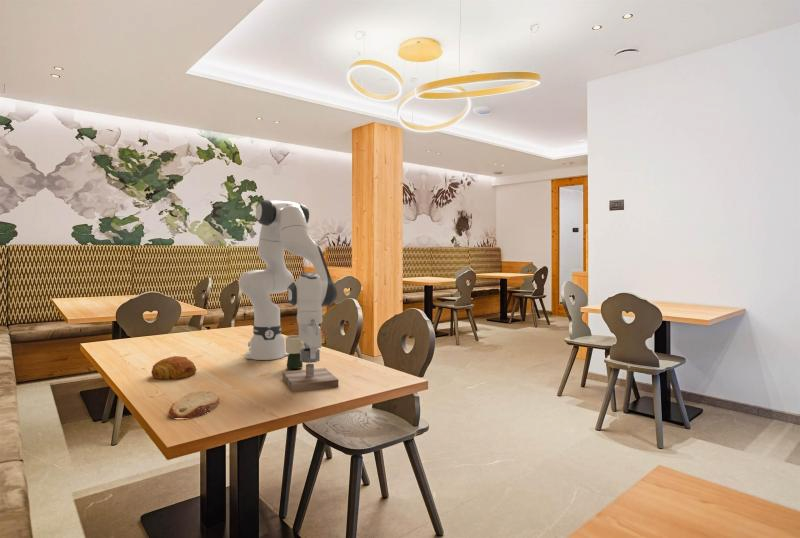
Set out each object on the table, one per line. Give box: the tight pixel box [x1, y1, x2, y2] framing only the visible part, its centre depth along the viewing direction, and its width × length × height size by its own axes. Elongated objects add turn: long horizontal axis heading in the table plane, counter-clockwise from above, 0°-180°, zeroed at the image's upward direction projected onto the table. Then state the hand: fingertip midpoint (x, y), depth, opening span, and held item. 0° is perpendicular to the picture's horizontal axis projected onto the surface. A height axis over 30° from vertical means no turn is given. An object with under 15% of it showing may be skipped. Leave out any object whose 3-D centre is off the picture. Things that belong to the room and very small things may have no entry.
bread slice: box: [168, 390, 221, 419], centre depth 144 cm, size 18×18×4 cm
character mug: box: [285, 334, 304, 370], centre depth 191 cm, size 11×7×13 cm, turn 52°
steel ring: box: [300, 348, 321, 364], centre depth 171 cm, size 6×6×4 cm
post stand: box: [282, 363, 339, 393], centre depth 171 cm, size 18×16×6 cm
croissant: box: [151, 355, 197, 380], centre depth 180 cm, size 14×16×8 cm
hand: (309, 356), depth 171 cm, fingers closed on steel ring, 6 cm apart
